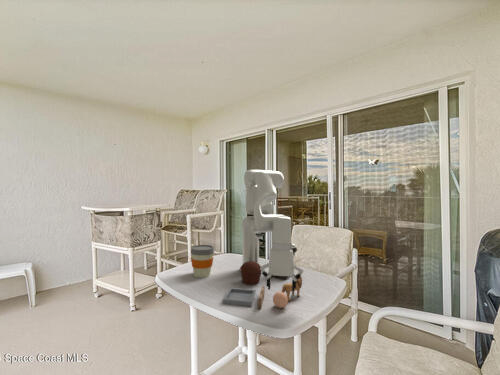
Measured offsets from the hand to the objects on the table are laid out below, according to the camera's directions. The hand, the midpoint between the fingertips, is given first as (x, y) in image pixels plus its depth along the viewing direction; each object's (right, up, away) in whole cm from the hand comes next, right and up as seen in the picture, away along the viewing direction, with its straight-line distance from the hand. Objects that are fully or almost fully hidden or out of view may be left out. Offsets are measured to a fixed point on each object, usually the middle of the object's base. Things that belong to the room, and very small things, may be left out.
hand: (281, 289), depth 98 cm
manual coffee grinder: (+7, -8, +36) cm, 37 cm away
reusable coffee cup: (-39, -7, +35) cm, 53 cm away
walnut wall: (-8, -7, +5) cm, 12 cm away
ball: (0, -7, 0) cm, 7 cm away
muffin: (-12, -8, +27) cm, 30 cm away
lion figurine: (+6, -8, +10) cm, 14 cm away
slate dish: (-17, -7, +7) cm, 20 cm away
